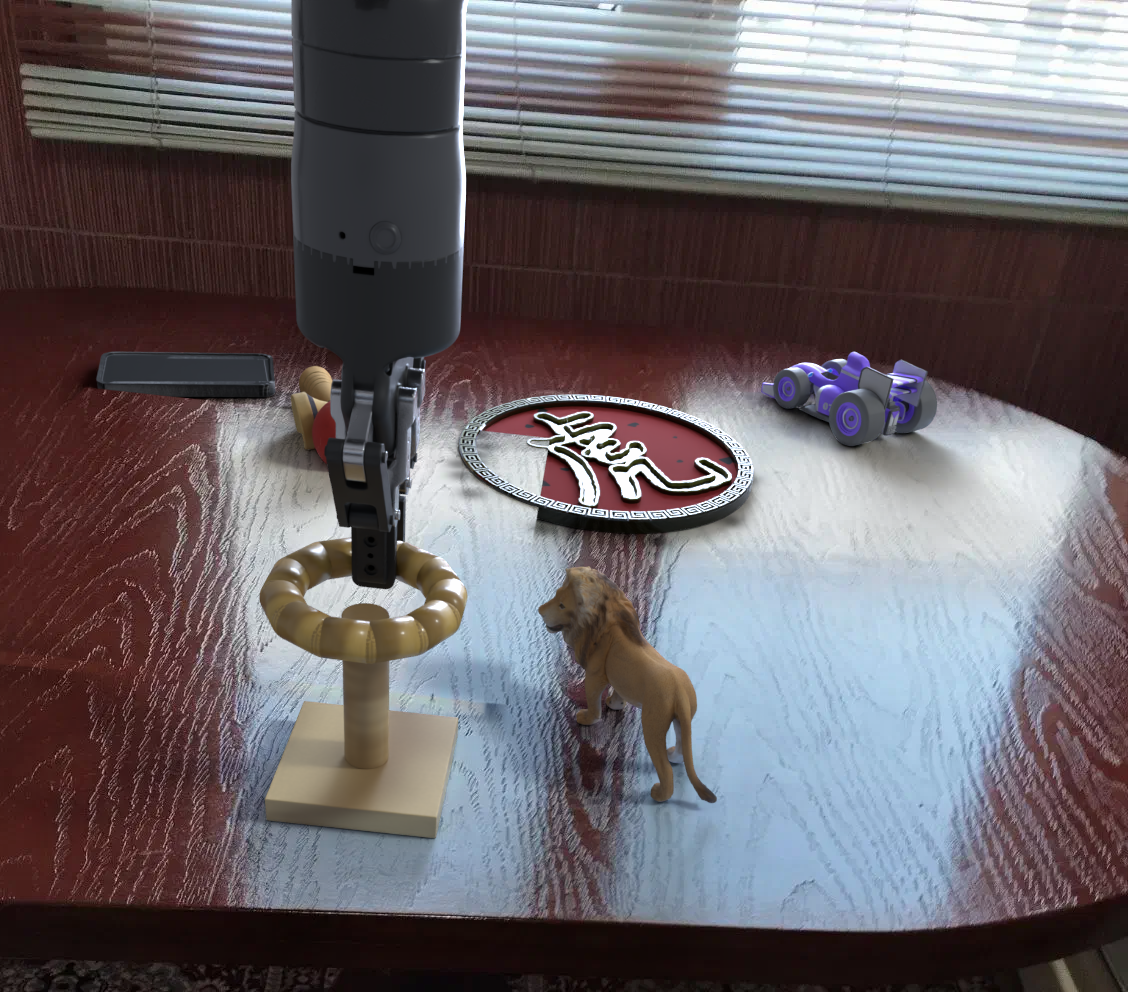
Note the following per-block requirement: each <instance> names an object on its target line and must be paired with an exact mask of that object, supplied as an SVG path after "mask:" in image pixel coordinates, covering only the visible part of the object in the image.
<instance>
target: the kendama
mask: <svg viewBox="0 0 1128 992" xmlns="http://www.w3.org/2000/svg"><path fill="white" fill-rule="evenodd" d="M332 381H333V378H332V376H331V375H330V373H329V372H328V371H327V370H326V369H325V368H323V367H321V366H319V365H312V366H309V367H307V368H305V369H304V370H303V371H302V373H301V374H300V375H299V379H298V388H299V391H300V392H296V393H293V394H291V395H290V405H291V411H292V417H293V421H294V426H295V429H296V432H297V433H298V434H301V437H302V442H303V449H304V450H306V451H309V450H310V451H311V450H316V453H317V455H318V456H319V458H320V459H321V460H322V462H323V463H325V464H326V465H327V462H326V457H325V455H324V449H325V446H326V445H327V442H328V439H329V438H336V423H335V420H334V419H333V418H332V416H331V412H330V392H331V384H332Z"/></svg>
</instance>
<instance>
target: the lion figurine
mask: <svg viewBox="0 0 1128 992" xmlns="http://www.w3.org/2000/svg"><path fill="white" fill-rule="evenodd" d="M565 573H566V574H565V577H564V579H563V582H562V586H560V587H558V588H557V589H556V591H555V595H554V597H552V598H551V599H549V600H548V601H547V602H546V601H545V602H544V603H542V604H541V605H539V606H538V608H537V612H538V614H539V616H541V619H542V621H543V623H544V624H545V629H546V631H547V633H548V634H552V635H553V634H557V633H559V632H561V635H562V639H563V642H564V643H565V644H567V645H568V646H570V647H571V648H572V649H573V653H574V659H575V662H576V663H577V664H578V665H579V666H580V667H581V669H582V670H584V671H585V672H584V691H585V698H586V703H587V708H586V709H585V708H582V709H580V710H578V712H577V713H576V715H575V718H576V722H577V724H580V725H583V726H592V725H595V724H597V723H598V722H600V720H601V718H602V712H603V711H602V697H603V693H604V692H605V691H606V689H607V687H608V686H609V685H610V686H611V687H612V688H613V690H612V694H611V695H609V696H607V697H606V699H605V704H606V706H607V707H608V708H610V709H612V710H623V709H624V708H625V707H626V706H627V703H628V704H630V705H631V706H633V707H634V708H636V709H639V710H641V712H640V713H641V715H640V720H641V721H640V722H641V727H642V737H643V742H644V745H645V748H646V750H647V753H648V755H649V757H650V760H651V763H652V764H653V767H654V769H655V772H656V775H657V777H658V781H659V782H655V783H654V784H653V785H652V787H651V788H650V797H651V799H653V800H654V801H655V802H658V803H663V802H666V801H668V800H670V799H671V798H672V797H673V796H674V790H675V782H674V781H675V780H674V769H673V767H672V765H671V763H674V764H683V765H684V769H685V773H686V776H687V779H688V780H689V783H690V784H691V785H692V787H693V789H694V790H695V792H696V794H697V795H698V797H699V798H700V800H701V801H705V802H706V803H709V804H714V803H717V802H718V797H717V796H716V794H714V792H713V791H712V790H711V789H710V788H708V787H707V785H706V784H704V783H703V782H702V780H701V779H700V778H699V777H698V775H697V772H696V770H695V765H694V757H693V744H692V743H693V742H692V741H693V740H692V736H693V735H692V721H693V719H694V717H695V716H696V713H697V711H698V699H697V697H698V696H697V693H696V689H695V687H694V684H693V683H692V681H691V678H690V676H689V674H688V673H687V672H686V671H685V669H683V668H681V667H680V666H677V665H675V664H673V663H672V662H671V661H669V660H667V659H666V658H665V657H663V655H661V653H660V652H659V651H658V650H657V649H656V648H655V647H654V646H653V645H652V644H651V643H650V642H649V641H648V640H647V639H646V638H645V636H644V635H643V632H642V629H641V622H640V616H639V614H638V613H637V610H636V608H635V607H634V606H633V602H632V601H631V600H629V599H628V597H627V596H626V595H625V592H624V591H623V589H620V587H619V586H618V584H617V583H616V582H614V581H613V580H612V578H608V576H607V575H606V574H605V573H603V572H601V571H599V570H598V569H596V568H591V566H589V565H588V566H578V567H576V566H573V567H570V568H567V567H565ZM671 725H672V727H673V730H674V734H675V745H674V746H670V747H667V734H668V732H669V731H670V729H671ZM670 762H671V763H670Z"/></svg>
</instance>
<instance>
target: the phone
mask: <svg viewBox="0 0 1128 992" xmlns="http://www.w3.org/2000/svg"><path fill="white" fill-rule="evenodd" d="M274 366H275V365H274V358H273V356H272V355H270V354H267V353H257V352H255V353H254V352H253V353H250V352H249V353H248V352H247V353H246V352H180V351H179V352H178V351H177V352H175V351H174V352H172V351H171V352H170V351H169V352H168V351H107V352H104V353H103V354H101V356H100V360H99V365H98V370H97V374H96V386H97V389H99V390H107V391H117V392H125V393H126V392H127V393H134V394H144V395H152V396H153V395H154V396H162V397H170V398H180V397H181V398H269V397H271V396H274V395H275V394H276V379H275V367H274Z"/></svg>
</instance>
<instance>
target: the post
mask: <svg viewBox="0 0 1128 992" xmlns="http://www.w3.org/2000/svg"><path fill="white" fill-rule="evenodd" d="M390 616H391V615H390V613H389V611H388V610H387V609H386V608H385V607H383V606H381V605H379V604H375V603H370V602H369V603H368V602H362V603H355V604H351V605H349V606H347V607H345V608H344V609H343V611H342V612H341V617H340V618H347V619H355V620H363V621H374V620H381V619H387V618H391V617H390ZM341 661H342V703H343V704H337V703H327V702H318V701H309V700H304V701H303V702H302V705H301V707H300V710H299V712H298V715H297V718H296V720H295V722H294V725H293V727H292V730H291V732H290V734H289V737H288V739H287V743H286V744H285V747H284V750H283V753H282V755H281V758H280V760H279V762H278V765H277V767H276V770H275V772H274V775H273V777H272V780H271V783H270V785H269V787H268V790H267V792H266V795H265V798H264V809H265V819H266V821H270V822H276V823H277V822H279V823H280V822H281V823H289V824H298V825H307V826H316V827H325V828H335V829H344V830H351V831H352V830H354V831H362V832H372V833H381V834H391V835H401V836H408V837H409V836H411V837H418V838H426V839H427V838H429V839H436V838H437V836H438V831H439V826H440V823H441V817H442V813H443V808H444V803H445V798H446V794H447V789H448V784H449V779H450V774H451V772H452V771H451V770H452V765H453V761H454V756H455V751H456V747H457V743H458V737H459V717H458V716H448V715H439V714H429V713H421V712H420V713H419V712H411V711H402V710H393V709H390V661H386V662H380V663H374V664H366V663H358V662H350V661H343V660H341Z"/></svg>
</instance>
